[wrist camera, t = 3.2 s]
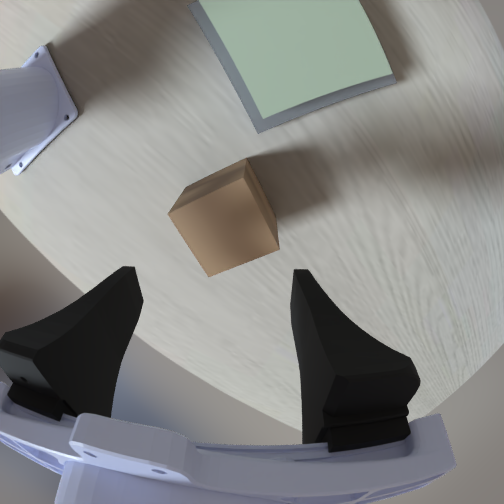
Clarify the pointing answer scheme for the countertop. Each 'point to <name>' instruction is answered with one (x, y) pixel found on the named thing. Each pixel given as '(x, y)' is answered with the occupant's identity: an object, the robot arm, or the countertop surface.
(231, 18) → the tower top
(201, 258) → the walnut block
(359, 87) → the tower base
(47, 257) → the countertop surface
